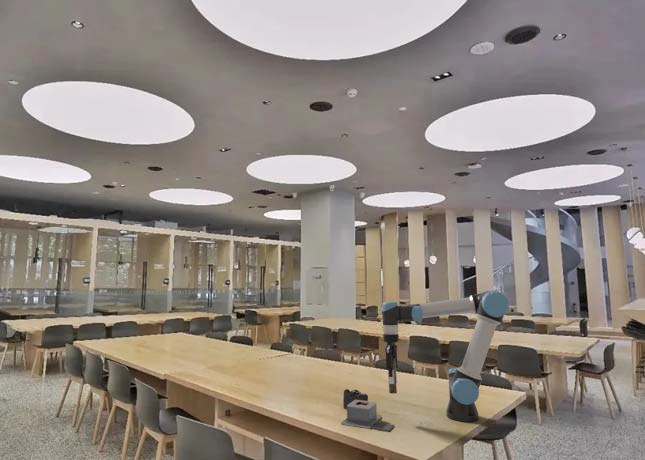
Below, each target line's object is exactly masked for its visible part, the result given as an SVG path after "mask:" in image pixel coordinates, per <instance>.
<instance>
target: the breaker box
mask: <svg viewBox="0 0 645 460" xmlns="http://www.w3.org/2000/svg"><path fill="white" fill-rule="evenodd" d="M362 405H366V406H362ZM346 414H347V415H346V418H345V419H344V420H342V421H341V425H342V426H343V425H344V426H350V427H356V426H357V427H358V428H363V429H372V427H373V426H374V425H375V424H376V423H377V422H379V420H381V418H382V415H379V414H377V402H376V401H370V400H368V401H363V400H354V401H352V402H351V403H350V404H348V405H347V409H346Z"/></svg>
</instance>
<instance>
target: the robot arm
mask: <svg viewBox="0 0 645 460" xmlns="http://www.w3.org/2000/svg"><path fill="white" fill-rule="evenodd" d="M381 306H382V309H381V310H382V311H381V312H382V326H381V328H382V331H383V332H382V333H383V335H382V337H383V338H382V339H383V342H385V343H386V347H385V350H384V351H385V360H386V367H385V368H386V370H387V375H388V376H387V378H388V379H387V380H388V385H389V384H394V370H393V358H395V360H396V369H398V368H399V367H398V366H399V365H398V345H396V343H397V342H399V340H400V338H399V337H400V336H399V334H398V333H399V322H414V323H416V322H422V321H423V319H426V318H433V317H436V318H437V317H443V316H451V315H460V314H469V313H471V314H473V315H476V317H477V320H476V323H475V326H474V329H473V333H472V335H471V337H470V340H469V344H468V346H467V350H466V352H465V354H464V358H463V361H462V364H461V366H459V367H457V368H449V369H448V375H447V376H448V390H449V391H448V392H449V399H448V404H447V406H446V417H447V418H448V419H451V420H453V421H458V422H466V423H467V422H469V423H470V422H477V421H479V416H480V415H479V411H478V409H477V405H476V404H475V402H477V400H478V398H479V397H480V387H481V383H482V381H483V379H482V376H481V373H482V370H483V366H484V363H485V360H486V359H487V354H488V353H489V349H490V346H491V343H492V340H493V337H494V335H495V331H496V329H497V327H498V326H499V325H501V324H502V323H503V320H504V316H506V314H507V313H508V311H509V308H510V303H509V299H508V297H506V296H505V294H504V293H502V292H501V291H497V290H487V291H484V292H480V293H476V294H471V295H469V296H467V297H462V298H453V299H446V300H439V301H438V300H437V301H432V302H424V303H415V304H411V303H410V304H407V305H398V302H396V301H385V302H382V304H381ZM396 383H397V376H396Z"/></svg>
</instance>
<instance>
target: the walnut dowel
mask: <svg viewBox="0 0 645 460" xmlns="http://www.w3.org/2000/svg"><path fill="white" fill-rule="evenodd" d="M393 370H394V384H389V383H388V391H389V394H397V392H398V391H397V390H398V389H397V382H396V377H397V368H396V360H395V358H393Z"/></svg>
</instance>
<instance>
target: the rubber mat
mask: <svg viewBox="0 0 645 460" xmlns="http://www.w3.org/2000/svg"><path fill="white" fill-rule="evenodd" d="M394 427H395V424H391V423H382V422H379V421H377V422H376V423H375V424H374V425H373V426H372V427H371V429H372V430H375V431H382V432H389V433H390V432H391V431H392V430H393V428H394Z"/></svg>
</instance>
